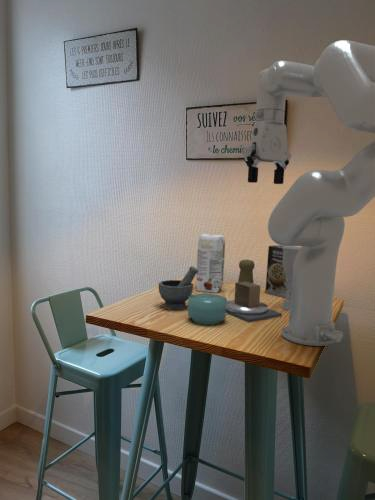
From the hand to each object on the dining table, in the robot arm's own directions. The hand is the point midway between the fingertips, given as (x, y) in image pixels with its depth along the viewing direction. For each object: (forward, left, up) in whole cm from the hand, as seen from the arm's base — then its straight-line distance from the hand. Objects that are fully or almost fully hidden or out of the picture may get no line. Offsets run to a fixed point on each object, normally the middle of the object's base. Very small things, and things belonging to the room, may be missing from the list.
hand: (265, 183), depth 118 cm
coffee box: (+12, -22, -36) cm, 44 cm away
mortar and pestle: (+14, +18, -36) cm, 43 cm away
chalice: (-1, -12, -36) cm, 38 cm away
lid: (+1, +3, -36) cm, 36 cm away
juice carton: (+27, -3, -36) cm, 46 cm away
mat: (+2, +3, -36) cm, 36 cm away
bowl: (0, +18, -36) cm, 41 cm away
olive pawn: (+20, -13, -36) cm, 44 cm away
